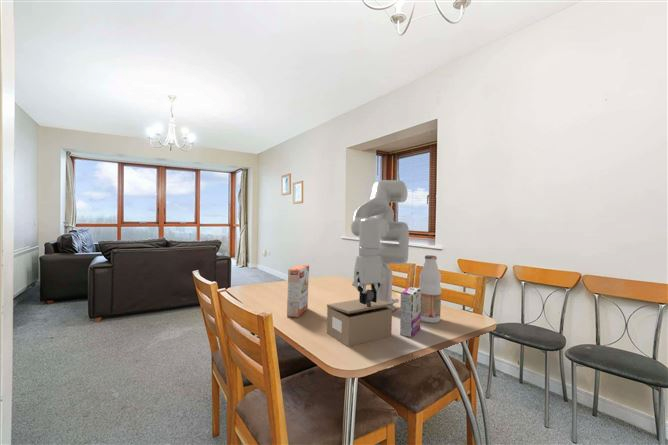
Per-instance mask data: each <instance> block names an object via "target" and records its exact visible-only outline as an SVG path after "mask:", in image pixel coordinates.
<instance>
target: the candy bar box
mask: <svg viewBox="0 0 668 445" xmlns="http://www.w3.org/2000/svg"><path fill="white" fill-rule="evenodd" d="M421 322H422V321H421V289H420V288H419V287H413V286H410V287H407V288H406V289H404V290H403V291H401V292H400V323H399V325H400V327H399V328H400V331H399V332H400V336H403V337H408V338H413V337H414V336H415V335H416V334H417V333H418V332H419V331H420V330H421Z"/></svg>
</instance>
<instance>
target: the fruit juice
mask: <svg viewBox="0 0 668 445" xmlns="http://www.w3.org/2000/svg"><path fill="white" fill-rule="evenodd" d="M437 259H438V258H437V255H432V254H431V255H429V254H427V255H425V256H424V260H425V261H424V264H423V265H422V269H420V271H419V276H418V277H419V284H418V288H420V289H421V321H420V322H424V323H431V324H433V323H434V324H436V323H439V322H440V320H441V310H442V309H441V308H442V307H441V306H442V287H441V279H442V274H441V272H440V270H439V268H438V264H437Z"/></svg>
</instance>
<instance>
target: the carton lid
mask: <svg viewBox="0 0 668 445" xmlns="http://www.w3.org/2000/svg"><path fill="white" fill-rule="evenodd" d="M365 293H366V294H367V299H366V304H362V303H360V300H359V298H357V299H352V300H346V301H341V302H334V303H328V304H326V307H329V308H332V309H336V310H339V311H342V312H345V313H348V314H350V313H355V312H361V311H366V310H371V309H376V308H381V307H387V306H392V305H393V306H394V304H393V303H390V302H386V301H381V300H377V302H372V301H371V300H372V299H373V297H374V293H373V291H371V289H366V291H365Z"/></svg>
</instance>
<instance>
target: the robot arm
mask: <svg viewBox="0 0 668 445" xmlns="http://www.w3.org/2000/svg"><path fill="white" fill-rule="evenodd" d="M407 199H408V187H407V186H406V183H405V182H404V181H403V180H399V179H391V180H390V179H383V180H377V181H376V182H375V183H373V185H372V187H371V190H370V195H369V200H367V201H365V202H364V203H363V204H361V205H360V206H359V207H357V208H356V210H355V211H354V213H353V214H354V215H353V218H352V219H351V224H350V226H351V227H350V231H351V233H352V235H354V236H355V237H358V238H359V239H358V240H359V241H358V242H359V243H358V255H357V256H356V258H355V263H354V270H353V281H352V284H351V285H352V286H353V287H354V288H355V289H356V290H357V292H359V298H358V299H359V300H360V303H362V304H366V299H367V294H366V293H365V291H366V290H367V285H370V290H371V291H373V293H374V297H373V299H372V300H371V301H372V302H377V300H381V301H386V302H390V303H393V305H392V306H387V307H388V308H390V309H392V312H394V311H395V310H396V309H395V307H396V306H395V305H394V304H398V303H399V302H400V300H399V299H398V298H394V299H393V297H392V296H393V271H392V269H391V268H390V266H389V265H391V264H392V265H405V264H406V263H407V262H408V260H409V248H410V247H409V243H410V242H409V240H410V232H409V231H410V230H409V229H410V228H409V226H408V224H407V223H406V222H404V221H394V216H395V212H394V210H393V208H392V207H391V205H389V204H390V203H405V202H406V201H407ZM375 216H376V217H375ZM381 241H382V242H383V241H384V242H396V243H397V244H396V243H384V242H383V243H381Z"/></svg>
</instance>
